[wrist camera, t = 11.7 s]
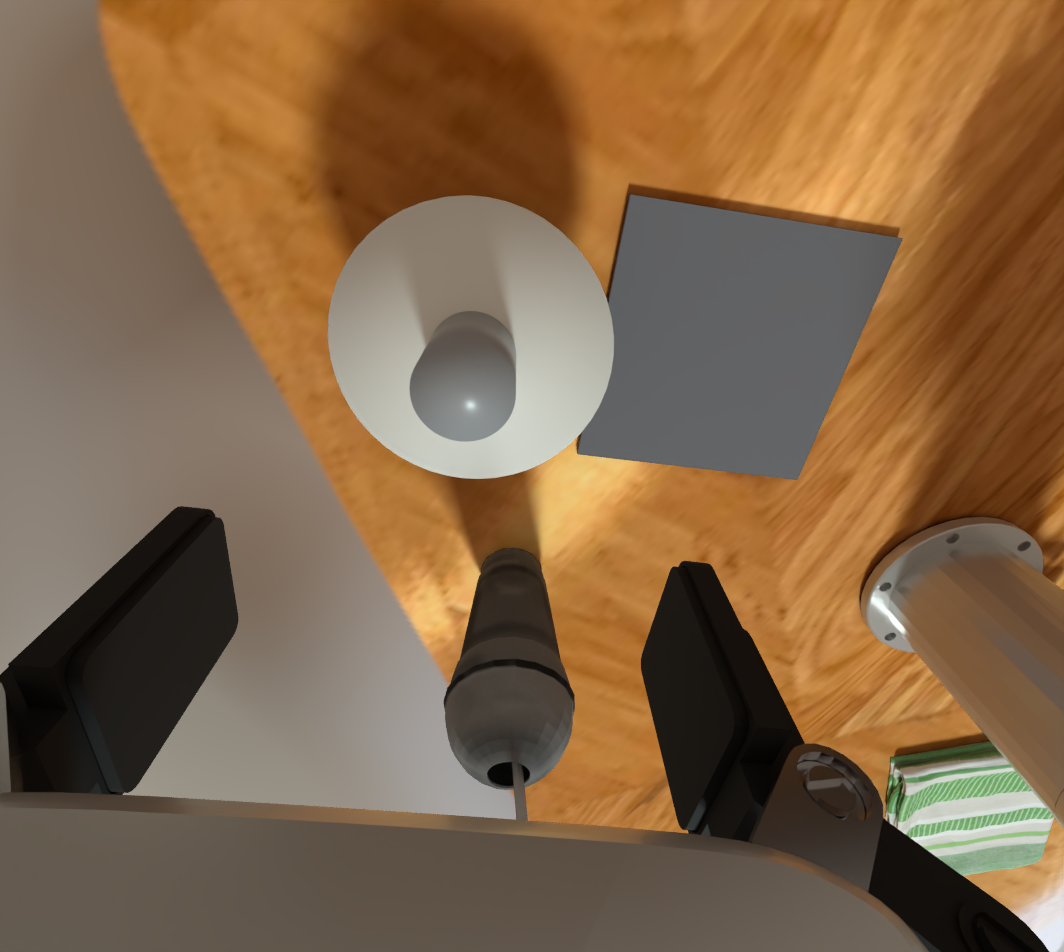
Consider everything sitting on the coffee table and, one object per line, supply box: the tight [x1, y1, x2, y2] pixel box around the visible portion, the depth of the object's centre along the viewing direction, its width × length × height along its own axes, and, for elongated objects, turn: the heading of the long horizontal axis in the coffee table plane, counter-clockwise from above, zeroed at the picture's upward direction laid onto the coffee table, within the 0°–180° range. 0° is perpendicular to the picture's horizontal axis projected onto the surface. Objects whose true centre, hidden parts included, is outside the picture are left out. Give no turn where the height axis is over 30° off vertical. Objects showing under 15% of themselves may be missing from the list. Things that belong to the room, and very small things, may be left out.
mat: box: [577, 194, 903, 480], centre depth 32 cm, size 15×15×1 cm
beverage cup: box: [444, 548, 575, 821], centre depth 31 cm, size 7×7×20 cm
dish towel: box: [885, 741, 1054, 875], centre depth 56 cm, size 18×23×3 cm
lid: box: [328, 195, 614, 479], centre depth 23 cm, size 13×13×6 cm
